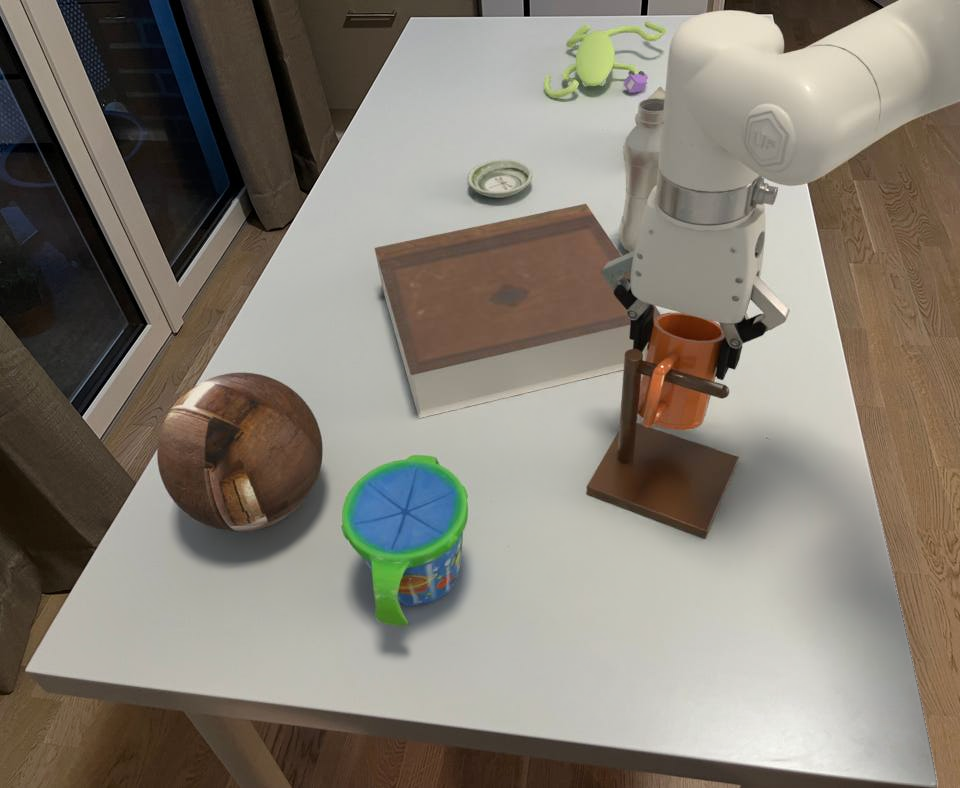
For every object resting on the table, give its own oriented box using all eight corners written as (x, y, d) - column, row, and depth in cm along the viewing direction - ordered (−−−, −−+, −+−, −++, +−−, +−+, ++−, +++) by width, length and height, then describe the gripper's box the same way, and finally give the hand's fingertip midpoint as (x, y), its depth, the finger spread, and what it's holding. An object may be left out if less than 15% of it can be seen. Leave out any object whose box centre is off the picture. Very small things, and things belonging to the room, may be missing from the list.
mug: (648, 389, 80) (667, 306, 75) (711, 410, 77) (734, 325, 73) (607, 433, 71) (625, 344, 67) (676, 459, 69) (699, 367, 64)
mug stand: (737, 464, 79) (764, 351, 69) (705, 539, 74) (729, 428, 63) (625, 426, 84) (633, 315, 73) (586, 493, 78) (589, 383, 68)
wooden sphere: (223, 439, 87) (175, 336, 77) (353, 449, 85) (323, 343, 74) (163, 555, 77) (99, 454, 66) (310, 569, 74) (268, 467, 64)
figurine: (668, 45, 152) (670, 14, 148) (643, 108, 135) (645, 75, 131) (573, 40, 157) (574, 10, 153) (537, 100, 140) (537, 68, 136)
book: (382, 289, 104) (374, 247, 100) (585, 245, 108) (586, 203, 103) (418, 418, 87) (410, 375, 83) (657, 361, 91) (662, 317, 86)
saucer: (455, 190, 120) (454, 175, 119) (503, 166, 124) (502, 152, 123) (497, 214, 115) (496, 199, 113) (546, 188, 119) (545, 173, 117)
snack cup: (396, 495, 80) (380, 427, 73) (497, 515, 77) (490, 447, 70) (333, 634, 70) (306, 571, 62) (447, 663, 67) (432, 600, 60)
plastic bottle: (669, 263, 104) (685, 117, 89) (616, 262, 105) (624, 117, 91) (668, 235, 108) (684, 92, 94) (618, 234, 109) (626, 92, 95)
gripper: (834, 186, 60) (788, 359, 73) (619, 145, 67) (610, 309, 79) (810, 239, 56) (765, 413, 68) (582, 189, 62) (579, 356, 75)
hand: (682, 356), depth 74 cm, fingers open, 7 cm apart
